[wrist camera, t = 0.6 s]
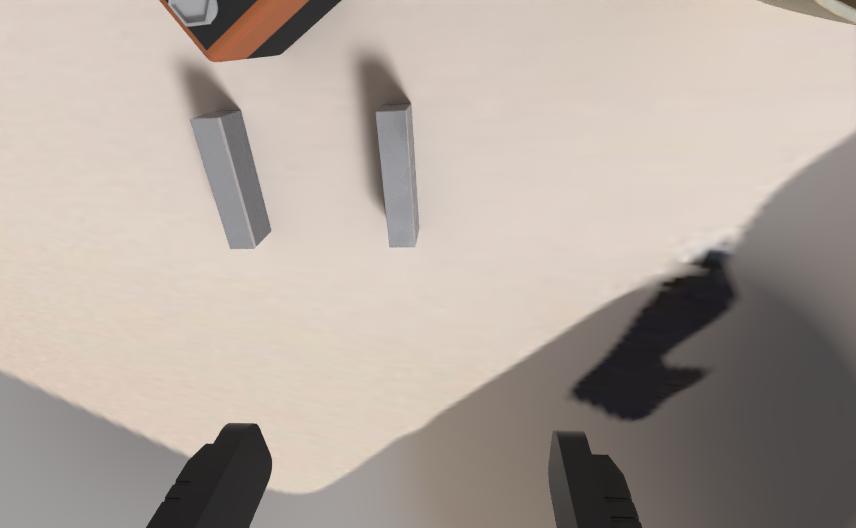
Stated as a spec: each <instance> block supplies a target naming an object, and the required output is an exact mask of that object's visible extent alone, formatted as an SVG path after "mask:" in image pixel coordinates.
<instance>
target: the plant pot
mask: <svg viewBox="0 0 856 528" xmlns="http://www.w3.org/2000/svg"><path fill="white" fill-rule="evenodd" d="M758 1H761V2H764V3H767V4H769V5H773V6H776V7H780V8H783V9H786V10H790V11H794V12H798V13H802V14H807V15H811V16H815V17H820V18H824V19H829V20H833V21H838V22H843V23H848V24H853V25H856V0H758Z"/></svg>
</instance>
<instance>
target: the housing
mask: <svg viewBox="0 0 856 528" xmlns="http://www.w3.org/2000/svg"><path fill="white" fill-rule="evenodd" d="M190 122H191V125H192V128H193V131H194V135H195V138H196V141H197V144H198V147H199V151H200V154H201V157H202V160H203V163H204V167H205V170H206V173H207V176H208V179H209V182H210V186H211V189H212V192H213V195H214V198H215V202H216V205H217V208H218V211H219V214H220V218H221V221H222V224H223V227H224V230H225V234H226V237H227V240H228V243H229V246H230V249H254V248H255V247H256V246H257V245H258V244H259V243H260V242H261V241H262V240H263V239H264V238H265V237H266V236H267V235H268V234H269V233H270V232H271V228H270V224H269V220H268V216H267V212H266V208H265V204H264V200H263V196H262V192H261V188H260V185H259V181H258V177H257V173H256V169H255V165H254V161H253V157H252V153H251V149H250V145H249V141H248V137H247V133H246V129H245V125H244V121H243V117H242V114H241V110H240V111H216V112H212V113H209V114H206V115H203V116H199V117H196V118H193V119H190ZM376 122H377V132H378V141H379V151H380V161H381V170H382V180H383V189H384V199H385V209H386V218H387V228H388V237H389V247H415V245H416V241H417V236H418V232H419V219H418V203H417V187H416V172H415V156H414V140H413V125H412V109H411V104H388V105H383V106H382V107H381V108H380V109H379V110H377V111H376Z"/></svg>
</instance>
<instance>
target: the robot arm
mask: <svg viewBox="0 0 856 528" xmlns="http://www.w3.org/2000/svg"><path fill="white" fill-rule="evenodd" d="M271 470H272V458H271V455H270V452H269V450H268V447H267V445H266V442H265V440H264V438H263V435H262V433H261V430H260V428H259V426H258V425H257V424H252V423H228V424H227V425H225V426H224V427H223V429H222V430H221V432H220V433H219V435H218V437H217V438H216V440H215V442H214V444H205V445H204V446H203V447H202V448H201V449H200V450H199V451H198V452H197V453H196V454H195V455H194V456H193V457H192V458H190V459H189V460H188V462H187V463H186V465H185V466H184V468H183V470H182V471H181V473H180V474H179V476H178V478H177V479H176V483H175V485H173V486H172V487H171V489H170V490H169V492H168V493H167V495H166V497H165V501H164V502H162V503H161V505H160V506H159V508H158V509H157V511H156V513H155V514H154V516H153V517H152V519H151V520H150V522H149V524H148V526H147V527H146V528H249V526H250V524H251V521H252V519H253V517H254V514H255V512H256V510H257V507H258V505H259V503H260V500H261V498H262V496H263V493H264V491H265V489H266V486H267V484H268V482H269V479H270V475H271ZM548 475H549V487H550V493H551V499H552V504H553V510H554V515H555V521H556V526H557V528H642V526H641V523H640V522H639V517H638V514H637V511H636V508H635V506H634V503H633V502H632V497H631V494H630V491H629V489H628V486H627V483H626V480H625V477H624V475H623V473H622V472H621V471H620V470H619V468H618V467H617V466H616V464H615V463H614V462H613V461H612V460H611V458H610V457H609V456H608V455H593V454H591V451H590V448H589V444H588V440H587V437H586V435H585V433H584V432H583V431H555V430H554V431H553V434H552V441H551V449H550V457H549V465H548Z"/></svg>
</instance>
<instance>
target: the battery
mask: <svg viewBox="0 0 856 528" xmlns="http://www.w3.org/2000/svg"><path fill="white" fill-rule="evenodd" d="M340 1H341V0H160V2H161V3H162V4H163V5H164V7H165V8H166V9H167V10H168V11H169V13H170V14H171V15H172V16H173V17H174V19H175V20H176V21H177V22H178V24H179V25H180V26H181V27H182V28H183V30H184V31H185V32H186V33H187V34H188V36H189V37H190V38H191V39H192V40H193V42H194V43H195V44H196V45H197V47H198V48H199V49H200V50H201V51H202V53H203V54H204V55H205V56H206V57H207V58H208V59H209V60H210V61H212V62H223V61H232V60H241V59H250V58H258V57H267V56H276V55H280V54H282V53H283V52H284V51H285V50H287V49H288V48H289V47H290V46H291V45H292V44H293V43H294V42H295V41H297V40H298V39H299V38H300V37H301V36H302V35H303V34H304V33H305V32H307V31H308V30H309V29H310V28H311V27H312V26H313V25H314V24H315V23H317V22H318V21H319V20H320V19H321V18H322V17H323V16H324V15H325V14H327V13H328V12H329V11H330V10H331V9H332V8H333V7H334V6H336V5H337V4H338V3H339V2H340Z"/></svg>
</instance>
